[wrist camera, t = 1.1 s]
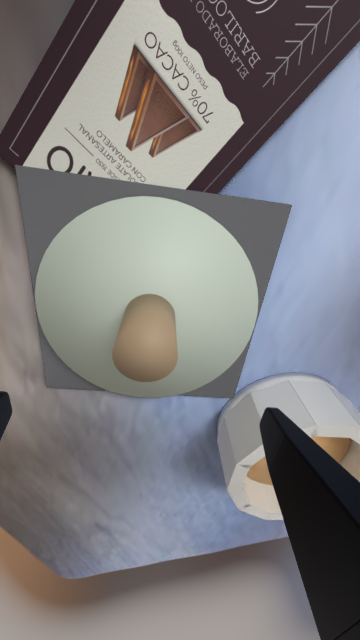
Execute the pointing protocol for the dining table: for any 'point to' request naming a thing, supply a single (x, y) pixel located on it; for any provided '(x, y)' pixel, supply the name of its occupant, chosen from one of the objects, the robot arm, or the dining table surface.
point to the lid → (146, 297)
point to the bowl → (305, 411)
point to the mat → (90, 191)
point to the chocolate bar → (174, 86)
